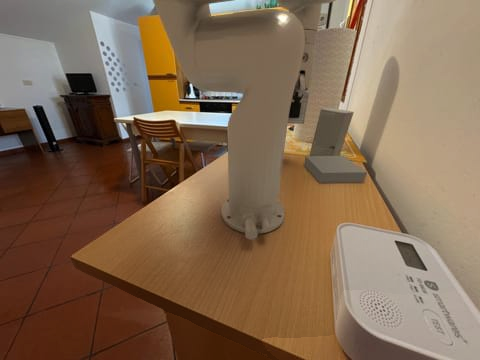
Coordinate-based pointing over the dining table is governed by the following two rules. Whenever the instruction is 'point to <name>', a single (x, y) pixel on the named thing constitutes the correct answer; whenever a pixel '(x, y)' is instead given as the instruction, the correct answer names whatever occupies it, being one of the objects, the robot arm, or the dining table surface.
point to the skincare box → (330, 132)
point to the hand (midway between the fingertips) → (290, 115)
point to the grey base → (334, 169)
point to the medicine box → (301, 110)
